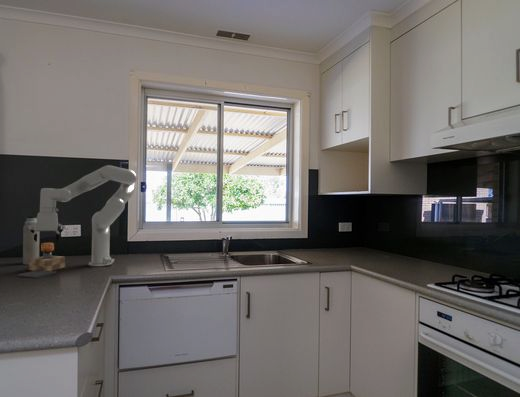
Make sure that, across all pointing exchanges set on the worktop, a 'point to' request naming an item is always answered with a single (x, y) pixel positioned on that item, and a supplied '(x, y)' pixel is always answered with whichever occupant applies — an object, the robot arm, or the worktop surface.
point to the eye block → (47, 263)
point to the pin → (47, 250)
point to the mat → (36, 274)
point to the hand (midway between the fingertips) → (46, 241)
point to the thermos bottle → (30, 240)
